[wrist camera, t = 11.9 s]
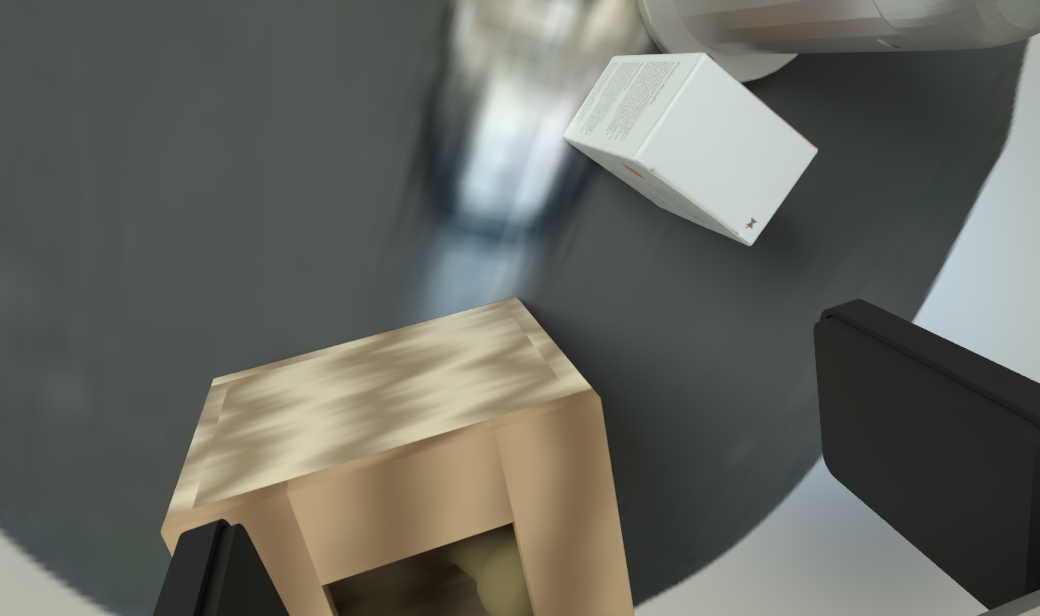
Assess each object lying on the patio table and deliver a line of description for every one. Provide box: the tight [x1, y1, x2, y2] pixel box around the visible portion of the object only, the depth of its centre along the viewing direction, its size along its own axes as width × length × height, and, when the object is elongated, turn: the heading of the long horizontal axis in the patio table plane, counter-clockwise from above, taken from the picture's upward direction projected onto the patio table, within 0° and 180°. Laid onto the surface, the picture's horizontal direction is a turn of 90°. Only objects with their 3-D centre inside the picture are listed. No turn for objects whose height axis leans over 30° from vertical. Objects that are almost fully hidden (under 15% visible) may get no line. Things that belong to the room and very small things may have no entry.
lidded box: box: [161, 297, 634, 616], centre depth 37 cm, size 18×18×14 cm
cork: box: [437, 522, 534, 616], centre depth 38 cm, size 6×6×11 cm
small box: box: [563, 52, 818, 246], centre depth 36 cm, size 8×6×10 cm
